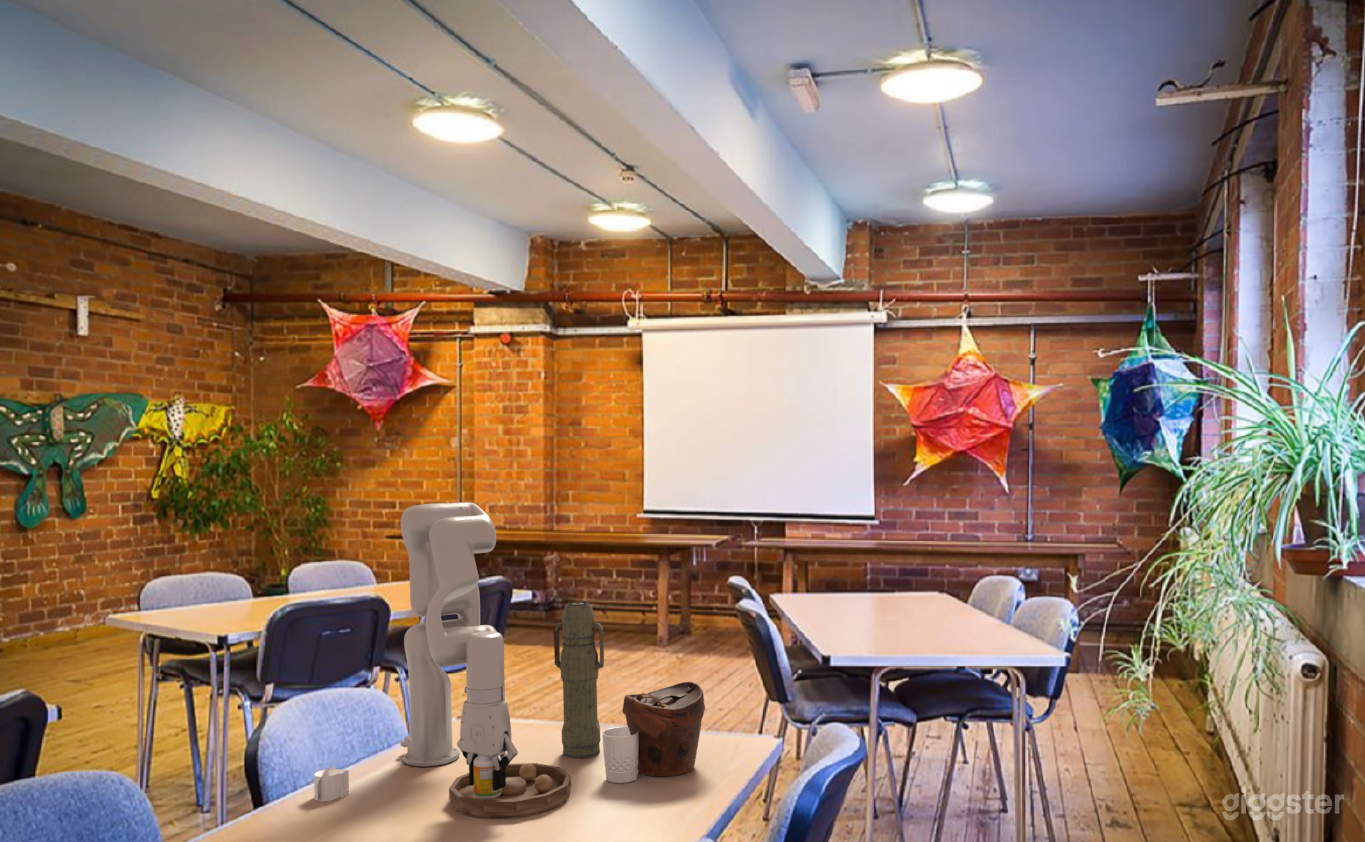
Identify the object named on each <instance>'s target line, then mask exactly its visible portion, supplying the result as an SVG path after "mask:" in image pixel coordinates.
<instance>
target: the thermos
mask: <svg viewBox="0 0 1365 842" xmlns="http://www.w3.org/2000/svg"><path fill="white" fill-rule="evenodd" d="M595 618H596V617H595V612H594V610H593V607H592V604H591V603H588V602H587V601H571V602H568V603H567V604H565V606H564V608H563V612H562V615H561V623H560V622H559V623H557V624H556V626H555V627H554V629H553V630H552V631H553V632H552V633H553V649H554V665H555V666H556V667H557V668H558V669H559V670H560V679H561V681H562V693H563V694H562V695H563V697H562V699H563V700H562V701H563V704H562V705H563V723H562V724H563V725H562V728H561V743H562V755H563V757H565V758H568V759H576V760H577V759H588V758H593V757H596V756H598V755H600V752H601V749H600V743H601V726H600V722H599V719H598V684H597V681H598V678H599V670H600V669H601V668H603V667H604V665H605V664H604V662H605V646H604V645H605V644H604V641H605V639H604V627H603V626H602V624H601V623H600V622H597V621H595ZM596 628H597V629H598V630H599V631H598V632H599V637H598V638H599V653H598V651H597V648H596V641H595V636H596ZM560 629H561V630H562V631H561V632H562V633H561V634H562V636H561V637H562V640H563V641H562V649H561V652H560V646H561V645H560V644H561V643H560Z"/></svg>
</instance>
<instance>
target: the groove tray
mask: <svg viewBox="0 0 1365 842" xmlns="http://www.w3.org/2000/svg"><path fill="white" fill-rule="evenodd" d="M526 763H527V762H525V763H524V762H522V763H520V762H519V763H509V764H508V766H507V767H506V786H505V787H503V788H501V794H500V795H499V796H498V797H495V798H492V799H479V798H476V797H475V796H474V785H473V786H471V785H469V772H467V773H465V774H462V775H460V776H458V777H457V776H456V778H455V779H454V780H453V782H452V784H451V785H450V786H449V788H448V795H449V796H448V798H449V800H450V801H451V802H450V803H451V806H452V808H453V809H454V810H455V811H456V812H458V813H460V814H462V815H465V816H468V817H472V818H477V819H478V818H480V819H491V820H492V819H497V820H499V819H500V820H501V819H513V818H515V819H516V818H523V817H529V816H533V815H538V814H541V813H544V812H545V813H546V812H548V811H550V810H554V809H555V808H558V807H559V806H561V805H562V804H564V803H565V802H567V800H568V799H569V798H570V795H571V786H572V774H570V773H569V772H567V771H565V770H564V769H562V768H561V767H559V766H555V765H550V764H549V765H548V764H543V763H538V762H531V764H533V765H534V766H535V768H536V776H535V777H534V778H533V779H532V780H530V781H525V780H524V779H522V778H521V777H520V774H519V771H520V768H521V766H522V765H524V764H526ZM543 774H545V775H548V776H550V777H551V779H552V782H553V784H552V788H551V789H550V791H548V792H546V793H540V792H538V791H537V790H536V788H535V781H536V779H537V777H538V776H540V775H543Z"/></svg>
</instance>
